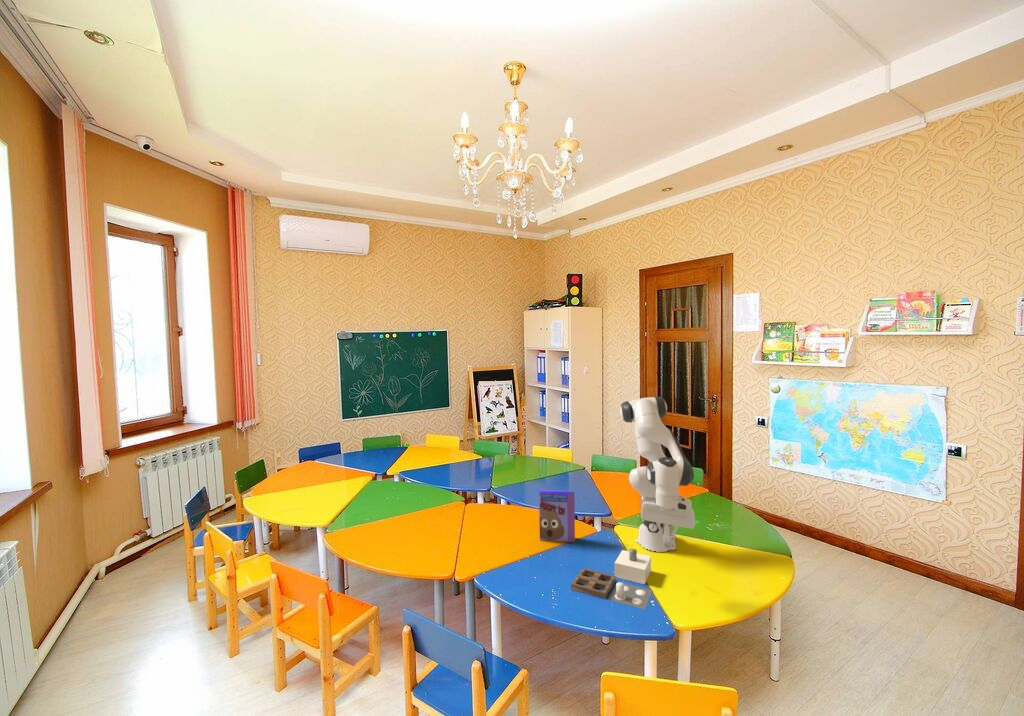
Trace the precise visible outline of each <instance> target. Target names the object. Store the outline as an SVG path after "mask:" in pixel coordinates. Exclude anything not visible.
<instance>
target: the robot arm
mask: <svg viewBox="0 0 1024 716" xmlns="http://www.w3.org/2000/svg"><path fill="white" fill-rule="evenodd" d="M667 412H668V405H667V402H666V400H665V398H663V397H662V396H654V397H652V396H651V397H641V398H637V399H633V400H629V401H628V400H627V401H624V402H622V403H621V404H620V409H619V414H620V417H621V418H622V420H623V422H625V423H634V433H635V440H636V445H637V446H636V447H637V451H638V454H639V455H640V456H641V457H642V458H645V459H646V460H647V461H649V463H648V465H646V466H639V467H638V466H637V467H636V468H633V469H631V470H630V472H629V475H628V481H629V484H630V485H631V488H633V489H634V490H636V491H637V492H638V494H639V495H640V496H641V499H640V506H641V511H640V518H641V520H642V524H640V525H639V531H638V537H637V538H635V542H636V543H637V542H638V543H637V544H639V545H640V544H641V545H640V546H641V547H642V548H643V547H644V548H643V549H645V550H647V549H648V550H647V551H650V550H651V551H650V552H654V551H656V552H657V553H665V552H669V551H675V549H676V550H677V544H676V543H675V542H676V535H677V534H676V532H677V531H678V529H679V527H681V528H685V529H691V530H692V529H694V528H695V526H696V517H695V511H694V509H693V507H692V502H693V501H692V500H691V499H689V498H686V497H684V496H682V495H680V490H679V486H681V487H682V486H683V487H688V486H689V485H690V484H691V483H692V482H693V481H694V479H695V473H694V468H693V467H692V465H691V463H690V462H689V460H688V459H687V457H686V455H685V453H684V451H683V449H682V447H681V445H680V443H679V441H678V439H677V437H676V436H675V434H674V432H673V430H671V429H670V428H668V427H666V425H664V423H663V421H662V420H661V419H664V417H665V416H667ZM662 446H663V447H665V448H667V449H668V450H667V451H669V453H670V455H671V457H668V456H666V454H665V452H664V451H663V448H662ZM663 524H668V525H671V526H673V528H674V529H671V547H670V548H667V547H664V546H663ZM668 550H669V551H668ZM656 552H655V553H656Z"/></svg>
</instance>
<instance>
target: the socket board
mask: <svg viewBox="0 0 1024 716" xmlns="http://www.w3.org/2000/svg"><path fill="white" fill-rule="evenodd" d="M615 582H616V577H615V575H613V574H608V573H605V572H600V571H596V570H593V569H587V568H584V567H582V569H581V570H580V571H579V573H578V574H577V576H575V578H574V580H573V581H572V582H571V584H570V591H571V593H572V592H573V591H574V592H575V591H576V592H579V593H582V594H586V595H589V596H590V595H591V596H593V597H597V598H601V599H604V600H606V598H607V597H608V595H609V593H610V592H611V590H612V588H613V586H614V585H615Z"/></svg>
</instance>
